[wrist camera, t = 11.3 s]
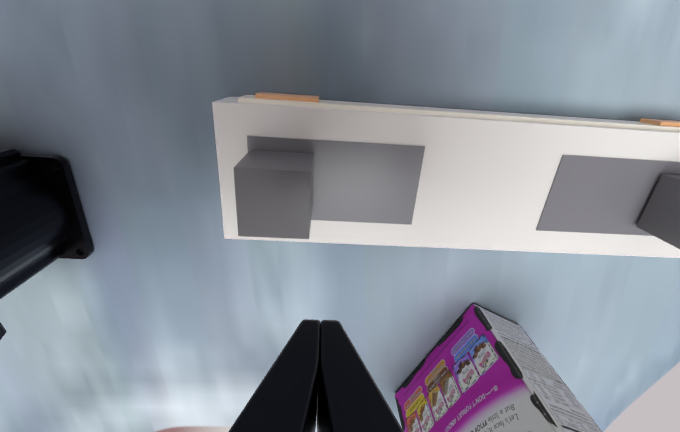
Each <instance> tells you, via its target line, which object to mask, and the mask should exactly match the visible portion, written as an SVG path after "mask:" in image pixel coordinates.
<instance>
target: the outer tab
mask: <svg viewBox="0 0 680 432" xmlns="http://www.w3.org/2000/svg"><path fill="white" fill-rule="evenodd" d="M636 227H638V228H640V229H641V230H643V231H645V232H647V233H649V234H651V235H653V236H655V237H657V238H659V239H661V240H663V241H665V242H667V243H669V244H671V245H672V246H674V247H676V248H678V249H680V175H672V174H662V176H661V178H660V180H659V182H658V184H657V186H656V188H655V190H654V192H653V194H652V196H651V198H650V200H649V202H648V204H647V206H646V208H645V210H644V212H643V214H642V216H641V218H640V220H639V222H638V224H637V226H636Z"/></svg>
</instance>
